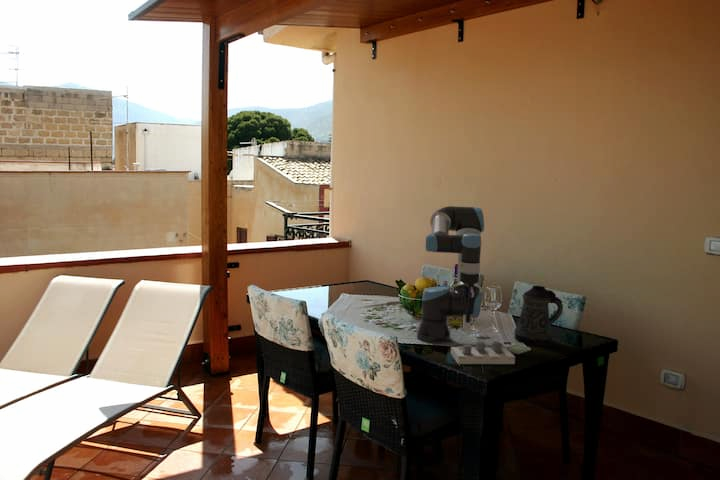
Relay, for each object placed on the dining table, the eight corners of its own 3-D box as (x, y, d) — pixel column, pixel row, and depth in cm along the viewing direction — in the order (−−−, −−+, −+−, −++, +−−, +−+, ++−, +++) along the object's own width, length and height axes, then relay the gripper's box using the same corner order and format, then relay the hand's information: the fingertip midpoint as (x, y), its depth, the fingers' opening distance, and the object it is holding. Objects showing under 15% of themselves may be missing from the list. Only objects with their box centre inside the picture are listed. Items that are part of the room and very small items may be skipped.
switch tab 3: (491, 349, 248) (492, 341, 247) (498, 349, 248) (499, 341, 247) (494, 352, 244) (495, 343, 243) (502, 352, 244) (502, 344, 243)
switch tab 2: (475, 349, 247) (476, 341, 246) (482, 349, 247) (483, 341, 247) (478, 352, 243) (478, 343, 243) (485, 352, 243) (485, 343, 243)
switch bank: (450, 353, 248) (450, 346, 248) (504, 353, 250) (504, 346, 250) (458, 363, 236) (458, 356, 235) (514, 364, 238) (515, 356, 237)
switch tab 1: (461, 353, 242) (462, 344, 241) (469, 353, 242) (469, 344, 242) (464, 356, 238) (464, 347, 237) (471, 356, 238) (472, 347, 238)
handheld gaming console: (502, 339, 268) (531, 347, 257) (502, 342, 268) (531, 351, 257) (489, 342, 262) (517, 351, 250) (488, 346, 262) (517, 355, 250)
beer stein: (506, 336, 277) (510, 283, 274) (541, 333, 284) (545, 282, 281) (528, 346, 261) (532, 291, 258) (564, 343, 268) (568, 289, 265)
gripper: (456, 269, 244) (453, 324, 247) (464, 275, 231) (461, 334, 235) (474, 269, 245) (471, 324, 248) (483, 275, 232) (480, 334, 235)
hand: (466, 329), depth 241 cm, fingers closed
